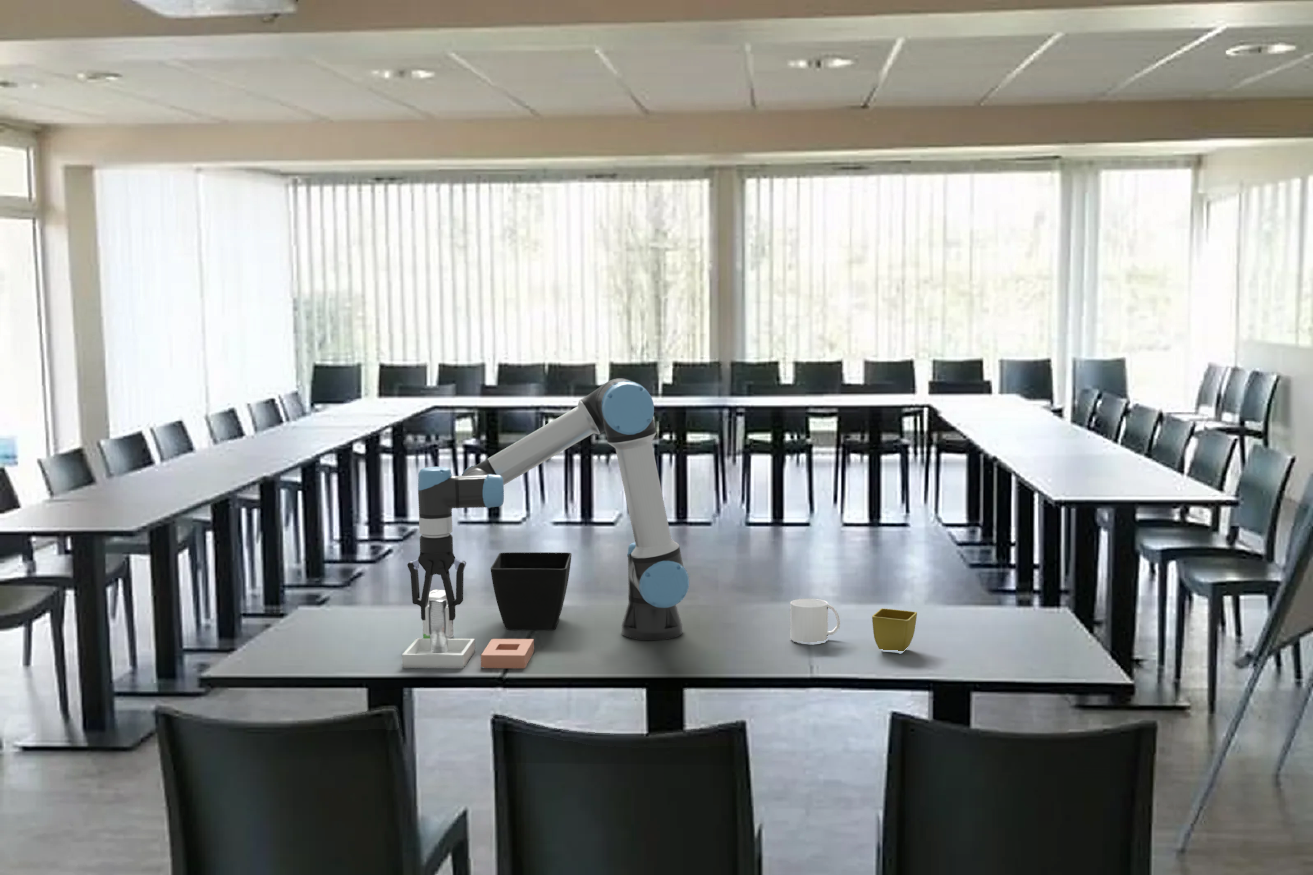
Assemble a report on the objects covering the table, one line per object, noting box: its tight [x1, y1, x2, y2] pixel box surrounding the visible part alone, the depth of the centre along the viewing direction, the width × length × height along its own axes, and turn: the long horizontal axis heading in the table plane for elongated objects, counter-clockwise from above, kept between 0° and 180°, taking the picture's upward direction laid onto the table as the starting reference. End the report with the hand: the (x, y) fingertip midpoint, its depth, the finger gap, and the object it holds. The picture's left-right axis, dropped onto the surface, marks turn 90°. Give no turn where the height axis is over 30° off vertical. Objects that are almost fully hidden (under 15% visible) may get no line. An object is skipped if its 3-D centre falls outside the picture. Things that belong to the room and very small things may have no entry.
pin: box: [429, 598, 448, 653], centre depth 312 cm, size 4×4×12 cm
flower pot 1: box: [490, 551, 573, 631], centre depth 344 cm, size 19×19×17 cm
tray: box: [401, 637, 476, 669], centre depth 313 cm, size 14×14×3 cm
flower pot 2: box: [871, 608, 918, 652], centre depth 316 cm, size 9×9×9 cm
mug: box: [789, 598, 841, 642], centre depth 326 cm, size 12×9×9 cm
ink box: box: [422, 589, 454, 639], centre depth 329 cm, size 9×5×12 cm, turn 167°
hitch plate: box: [480, 638, 535, 669], centre depth 312 cm, size 10×14×3 cm
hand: (438, 633), depth 312 cm, fingers closed on pin, 4 cm apart
